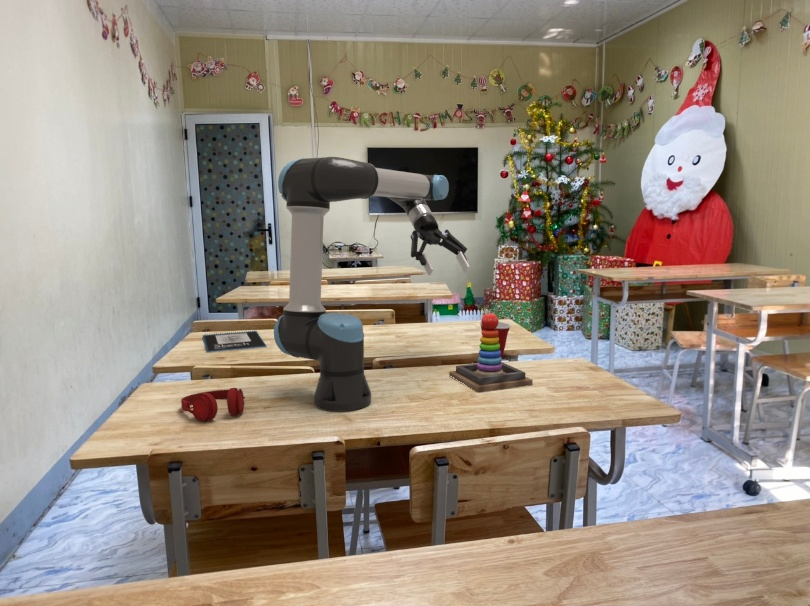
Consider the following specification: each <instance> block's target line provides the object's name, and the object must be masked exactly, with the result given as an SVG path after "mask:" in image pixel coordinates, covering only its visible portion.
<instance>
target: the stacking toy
mask: <svg viewBox="0 0 810 606" xmlns="http://www.w3.org/2000/svg"><path fill="white" fill-rule="evenodd" d="M480 322H481V323H482V326H483V327H484V328H485V329H484V330H482V329H481V337H480V338H479V339H480V340H479V341H480V343H479V351H478V355H479V356H478V358H477V360H478V362H477V368H478V369H477V371H476V373H477V374H478V375H480V376H490V375H498V374H503V370H502V364H501V362H502V361H503V360H502V359H503V357H502V358H501V356H500V355H501V351H500V350H499V348H500V344H499V343H498V342H499V338H498V337H497V336H498V330H496V329H495V328H496V327H497V326H498V323H499V322H500V321H499V318H498V316H497V314H495V313H491V312H489V313H486V314H484V315H483V316H482V318H481V321H480Z"/></svg>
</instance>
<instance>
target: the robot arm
mask: <svg viewBox="0 0 810 606" xmlns="http://www.w3.org/2000/svg"><path fill="white" fill-rule="evenodd" d="M277 187H278V188H277V189H278V191H279V194H281V197H282V199H283V200H284V201H286V207H285V208H286V210H287V211H288V212H289V213H290V215H291V231H290V233H291V234H290V235H291V237H290V260H289V261H290V265H289V290H288V291H289V295H288V296H289V299H288V300H289V301H288V303H287V304H286V305H285V306H284V307H283V311H282V315H280V316H278V319H277V321H276V322H275V324H274V327H273V338H274V341H275V344H276V346H277V347H278V349H279V350H280V351H281V352H282V353H283V354H285V355H288V356H292V357H293V358H302V359H307V360H311V361H318V362H319V378H318V381H317V385H316V389H315V392H314V396H313V397H314V406H315V407H316V408H318V409H320V410H322V411H327V412H328V411H329V412H350V411H357V410H360V409H363V408H365V407H368V406H369V405H371V403H372V391H371V389H370V386H369V383H368V380H367V377H366V375H365V346H364V345H365V343H364V341H365V333H364V327H363V322H362V320H361V319H360V318H359V317H357V316H355V315H353V314H352V315H351V314H349V313H341V312H340V313H339V312H328V313H327V310H326V307H324V306H323V305H322V303H321V302H322V273H323V245H324V244H323V243H324V221H325V220H324V218H325V216H326V214H327V213H328V212H330V208H331V207H330V205H331V203H336V202H342V201H349V200H350V201H351V200H358V199H359V200H361V199H362V200H366V199H370V198H372V197H383V198H384V197H385V198H388V199H389V200H391V201H393V202H394V203H396V205H398V206H400V207H401V208H403V210H404V211H405V213H406V215H407V217H408V220H409V221H410V223H411V225H412V227H413V231H412V232H411V235H410V238H411V239H410V240H411V245H410V247H411V249H410V257H411V258H415V260H416V261H418V262H419V263H420V265H421V266H422V267H424V270H425V272H426V274H427V275H428V276H431V275H432V273H433V271H434V268H433V267H434V266H433V265H432V264H431V262H430V259H429V258H428V255H427V254H426V253H424V251H425V250H426V246H427V245H429V246H432V245H433V246H434V245H435V246H436V245H437V246H440V247H443V248H445V249H446V250H448V251H449V252H451V253H452V254H454V255H456V257H455V258H456V260H457V262H458V263H459V266H460V267H461V269H462V271H463V272H464V274H465V273H467V272H468V270H469V269H470V264H469V263H468V261H467V260H468V258H467V257H466V255H465V253H466V252H467V250H468V248H467V247H466V246H465V245H464V244H463V243H462V242H460V241H459V240H458V238H456V237H455V236H454V235H453V234H451V232H450V231H449V230H448V229H445V230H444V231H441V230H440V228H439V224H438V222H437V219H436V218H435V217H434V214H433V212H432V211H431V209H430V207H429V205H428V203H427V201H438V200H444V199H446V198H447V197H448V194H449V190H450V188H449V187H450V185H449V181H448V179H447V177H445V175H441V174H440V175H438V174H433V175H429V174H421V173H414V172H407V171H402V170H401V171H399V170H393V169H387V168H379V167H375V165H373V164H372V163H370V162H364V161H360V160H355V159H350V158H344V157H338V156H327V157H325V156H323V157H309V158H304V157H303V158H299V159H295V160H291V161H289V162H287V163H286V164H285V165H284V166H283V168H282V169H281V171H280V173H279V176H278V180H277ZM419 240H422V243H421V245H420V247H419V250H418V243H419Z"/></svg>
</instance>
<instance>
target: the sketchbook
mask: <svg viewBox="0 0 810 606" xmlns="http://www.w3.org/2000/svg"><path fill="white" fill-rule="evenodd" d="M202 339H203V344H204V348H205V350H206V353H207V354H209V353H210V354H212V353H221V352H232V351H244V350H253V349H264V348H266V349H267V345H266V343H265V341H264V340H263V339H262V337H261V335H260V334H259V333H258V331H257V330H255V329H252V330H251V329H250V330H243V331H235V332H234V331H233V332H232V331H229V332H228V331H227V332H222V333H221V332H220V333H219V332H218V333H217V332H215V333H209V334H208V333H204V334H203V335H202Z"/></svg>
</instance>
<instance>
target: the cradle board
mask: <svg viewBox="0 0 810 606" xmlns="http://www.w3.org/2000/svg"><path fill="white" fill-rule="evenodd" d="M477 363H478V362H477ZM477 363H469V364H467V363H466V364H460V365H455V370H451V371H448V374H449V375H450V376H452V377H454V378H455V379H457V380H458V381H460V382H462V383H464V384H465V385H467V386H468V387H467V386H466V387H467V388H469V387H470V388H469V389H471V388H472V389H471V390H473V391H474V390H475V391H474V392H475V393H484V391H486V392H492V391H491V390H493V391H498V389H500V390H506V389H505V388H507V389H512V387H514V388H520V387H519V386H521V387H526V385H528V386H533V383H534V382H533V379H531V378H529V377H527V376H526V372H525V371H523V370H521V369H518V368H516V367H514V366H511V365H509V364H507V363H505V362H502V361H501V364H502V370H503V374H498V375H490V376H480V375H478V374H477V373H476V371H477V369H478V368H477ZM450 376H449V377H450ZM455 379H454V380H455ZM457 380H456V381H457ZM458 381H457V382H458ZM460 382H459V383H460ZM462 383H461V384H462ZM464 384H463V385H464ZM465 385H464V386H465Z"/></svg>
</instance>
